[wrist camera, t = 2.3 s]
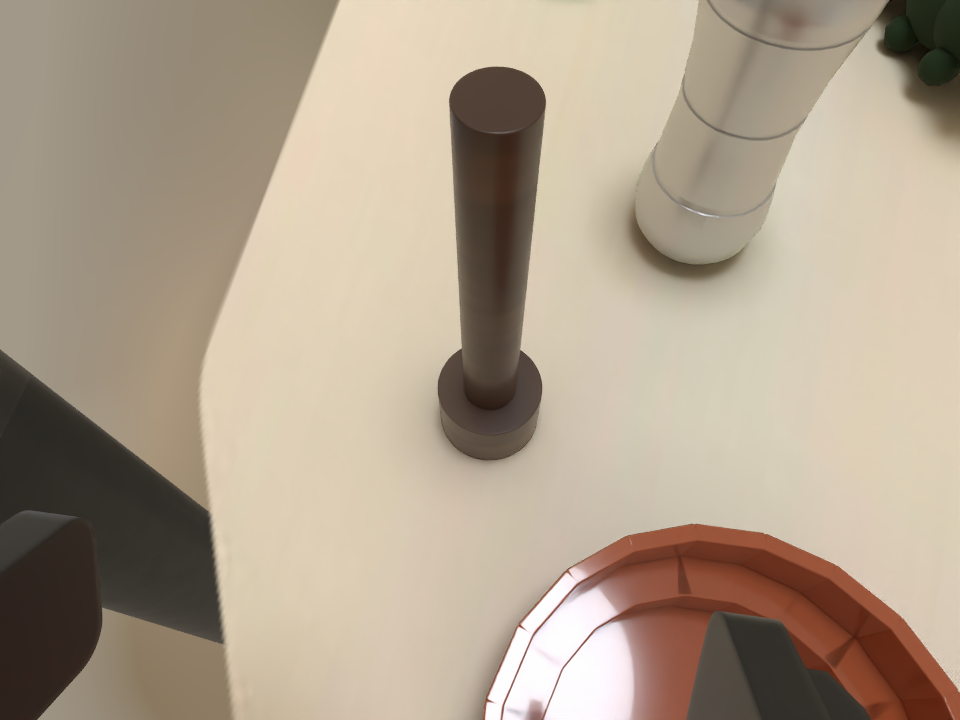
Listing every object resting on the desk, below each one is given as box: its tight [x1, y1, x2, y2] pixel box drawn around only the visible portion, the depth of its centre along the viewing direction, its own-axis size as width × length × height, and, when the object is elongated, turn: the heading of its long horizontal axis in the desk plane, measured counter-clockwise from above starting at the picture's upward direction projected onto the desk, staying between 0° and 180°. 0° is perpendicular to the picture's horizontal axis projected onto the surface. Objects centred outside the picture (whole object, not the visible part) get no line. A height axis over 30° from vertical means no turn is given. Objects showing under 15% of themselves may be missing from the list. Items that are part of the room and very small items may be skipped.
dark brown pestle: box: [438, 67, 546, 460], centre depth 23 cm, size 4×4×18 cm
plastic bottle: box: [635, 0, 889, 265], centre depth 28 cm, size 6×7×20 cm
